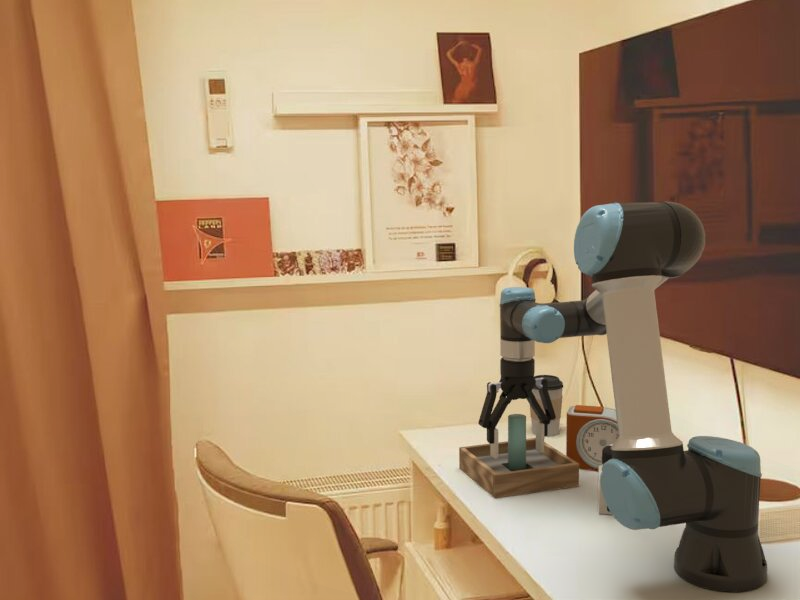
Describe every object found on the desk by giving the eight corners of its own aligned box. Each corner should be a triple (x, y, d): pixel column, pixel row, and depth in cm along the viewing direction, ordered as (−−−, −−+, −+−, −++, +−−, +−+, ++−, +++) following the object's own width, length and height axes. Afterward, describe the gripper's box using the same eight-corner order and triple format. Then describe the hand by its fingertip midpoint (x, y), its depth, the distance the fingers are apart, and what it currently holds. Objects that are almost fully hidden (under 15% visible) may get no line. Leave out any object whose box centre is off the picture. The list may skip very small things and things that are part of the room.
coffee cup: (543, 425, 242) (544, 370, 240) (570, 432, 235) (570, 376, 233) (520, 432, 237) (520, 376, 234) (547, 440, 230) (547, 382, 227)
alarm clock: (564, 468, 209) (565, 411, 207) (570, 456, 217) (570, 401, 215) (630, 474, 204) (632, 416, 202) (633, 462, 212) (635, 406, 210)
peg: (529, 478, 203) (529, 417, 201) (512, 480, 202) (512, 419, 200) (521, 472, 207) (521, 413, 205) (505, 474, 206) (505, 415, 203)
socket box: (579, 485, 198) (579, 463, 197) (495, 498, 192) (494, 475, 191) (537, 457, 217) (537, 437, 216) (459, 468, 211) (459, 447, 210)
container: (638, 516, 181) (639, 454, 179) (598, 514, 182) (599, 452, 180) (636, 502, 188) (637, 441, 186) (598, 500, 190) (598, 440, 188)
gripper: (556, 349, 207) (555, 442, 210) (462, 358, 200) (463, 454, 203) (572, 356, 200) (571, 452, 203) (475, 365, 193) (476, 465, 196)
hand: (517, 453), depth 203 cm, fingers open, 10 cm apart
